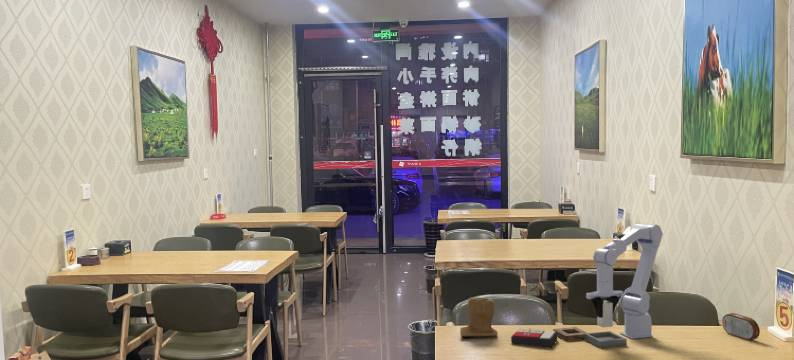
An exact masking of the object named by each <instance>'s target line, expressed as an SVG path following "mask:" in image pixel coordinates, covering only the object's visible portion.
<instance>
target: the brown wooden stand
mask: <svg viewBox="0 0 794 360" xmlns="http://www.w3.org/2000/svg"><path fill="white" fill-rule="evenodd" d="M467 312H468V317H469V324H468V325H467V326H463V327H461V328H460V330H459V334H460V337H464V338H475V337H476V338H479V337H495V336H497V335H498V334H499V333H498V331H497V330H496V329H495V328H493V327H492V321H493V318H494V313H495V302H494V300H493V299H491V298H486V297H469V299H468V302H467Z"/></svg>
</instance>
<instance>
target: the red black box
mask: <svg viewBox="0 0 794 360" xmlns="http://www.w3.org/2000/svg"><path fill="white" fill-rule="evenodd" d="M510 341H511V342H510V344H512V345H520V346H527V347H528V346H529V347H538V348H544V349H553V347H554V346H555V344H556V343H557V342H556V341H558V336H557V332H555V331H553V330H544V329H531V328H519V329H517V331H515V332H514V333H513V334H512V335H511V336H510ZM555 342H556V343H555ZM553 345H554V346H553Z"/></svg>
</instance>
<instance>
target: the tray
mask: <svg viewBox="0 0 794 360" xmlns="http://www.w3.org/2000/svg"><path fill="white" fill-rule="evenodd" d="M584 339H585V340H586V342H587V341H588V343H589V344H592V345H593V346H594V347H597V348H599V349H607V348H608V349H609V348H617V347H625V346H628V343H627V338H626V337H624V336H622V335H619V334H617V333H615V332H613V331H610V330H606V331H596V332H587V333H584ZM584 339H583V340H584ZM585 340H584V341H585Z"/></svg>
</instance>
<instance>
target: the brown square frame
mask: <svg viewBox="0 0 794 360" xmlns="http://www.w3.org/2000/svg"><path fill="white" fill-rule="evenodd" d="M552 331H555V332H557V338H559V337H560V338H559V339H561V338H562V339H561V340H563V339H564V340H563V341H565V342H569V341H568V340H572V341H578V340H577V339H583V340H584V333H588V332H587V331H585V330H583V329H581V328H579V327H576V326H571V327H560V328H553V329H552Z"/></svg>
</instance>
